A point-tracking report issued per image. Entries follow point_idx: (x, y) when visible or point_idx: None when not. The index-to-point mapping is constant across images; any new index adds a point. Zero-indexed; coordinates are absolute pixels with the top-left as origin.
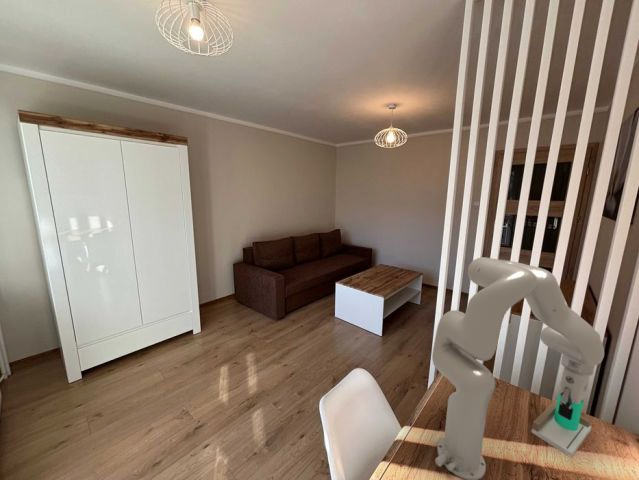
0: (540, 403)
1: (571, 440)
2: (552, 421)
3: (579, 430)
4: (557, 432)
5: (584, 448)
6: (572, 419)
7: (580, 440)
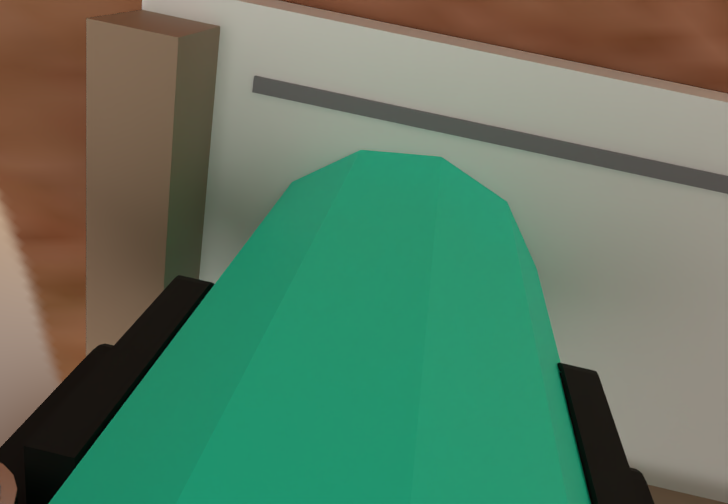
0: None
1: None
2: None
3: (416, 128)
4: (721, 363)
5: (708, 30)
6: (547, 341)
7: (684, 105)
